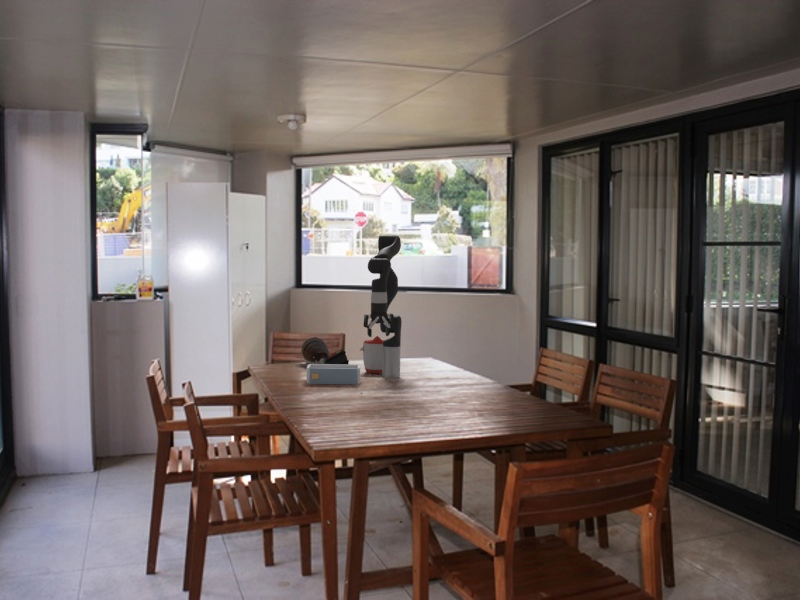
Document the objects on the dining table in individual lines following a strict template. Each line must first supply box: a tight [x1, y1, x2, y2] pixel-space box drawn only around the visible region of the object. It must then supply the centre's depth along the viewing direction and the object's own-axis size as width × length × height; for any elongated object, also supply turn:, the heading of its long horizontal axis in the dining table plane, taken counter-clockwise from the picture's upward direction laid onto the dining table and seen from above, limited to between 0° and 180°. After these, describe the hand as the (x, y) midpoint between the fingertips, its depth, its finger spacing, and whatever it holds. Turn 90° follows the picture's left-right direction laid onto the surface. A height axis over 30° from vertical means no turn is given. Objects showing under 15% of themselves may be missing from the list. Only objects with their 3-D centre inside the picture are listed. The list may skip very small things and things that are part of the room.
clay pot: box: [301, 336, 330, 365], centre depth 419 cm, size 15×15×25 cm
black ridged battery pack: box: [324, 348, 350, 365], centre depth 381 cm, size 4×13×15 cm, turn 112°
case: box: [306, 364, 361, 385], centre depth 364 cm, size 12×26×9 cm, turn 93°
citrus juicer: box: [359, 335, 385, 374], centre depth 401 cm, size 16×17×20 cm
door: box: [309, 368, 358, 385], centre depth 358 cm, size 2×23×8 cm, turn 93°
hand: (378, 336), depth 342 cm, fingers open, 8 cm apart
